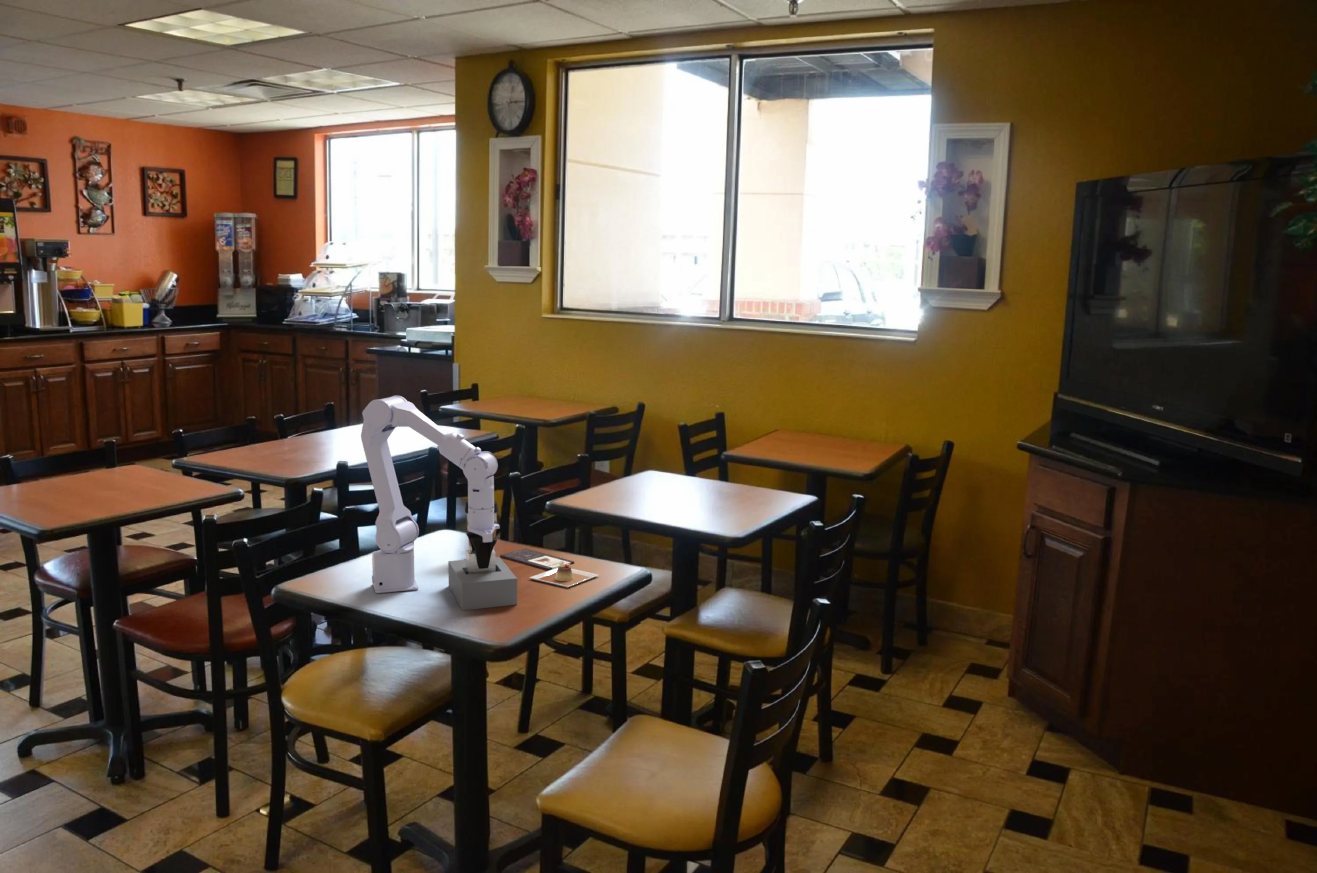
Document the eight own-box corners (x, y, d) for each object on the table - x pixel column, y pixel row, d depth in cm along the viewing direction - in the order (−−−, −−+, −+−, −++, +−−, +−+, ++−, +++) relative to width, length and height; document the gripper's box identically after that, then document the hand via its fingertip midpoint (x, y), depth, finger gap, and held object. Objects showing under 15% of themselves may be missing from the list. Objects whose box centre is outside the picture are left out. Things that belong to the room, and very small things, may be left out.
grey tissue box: (462, 610, 212) (462, 583, 211) (448, 586, 229) (448, 561, 228) (517, 604, 217) (517, 578, 216) (499, 581, 233) (499, 556, 232)
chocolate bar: (525, 548, 261) (574, 561, 249) (525, 551, 261) (574, 565, 250) (500, 554, 254) (548, 568, 243) (500, 558, 254) (548, 572, 243)
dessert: (599, 579, 238) (599, 560, 238) (567, 591, 229) (568, 571, 228) (561, 570, 245) (561, 551, 244) (528, 581, 235) (528, 562, 234)
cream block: (468, 576, 219) (468, 554, 218) (466, 571, 222) (465, 550, 222) (495, 573, 221) (495, 552, 221) (492, 569, 225) (492, 548, 224)
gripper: (505, 512, 214) (506, 572, 217) (492, 498, 228) (492, 555, 230) (473, 514, 212) (474, 575, 214) (461, 500, 225) (462, 558, 227)
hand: (481, 565), depth 222 cm, fingers closed on cream block, 3 cm apart
